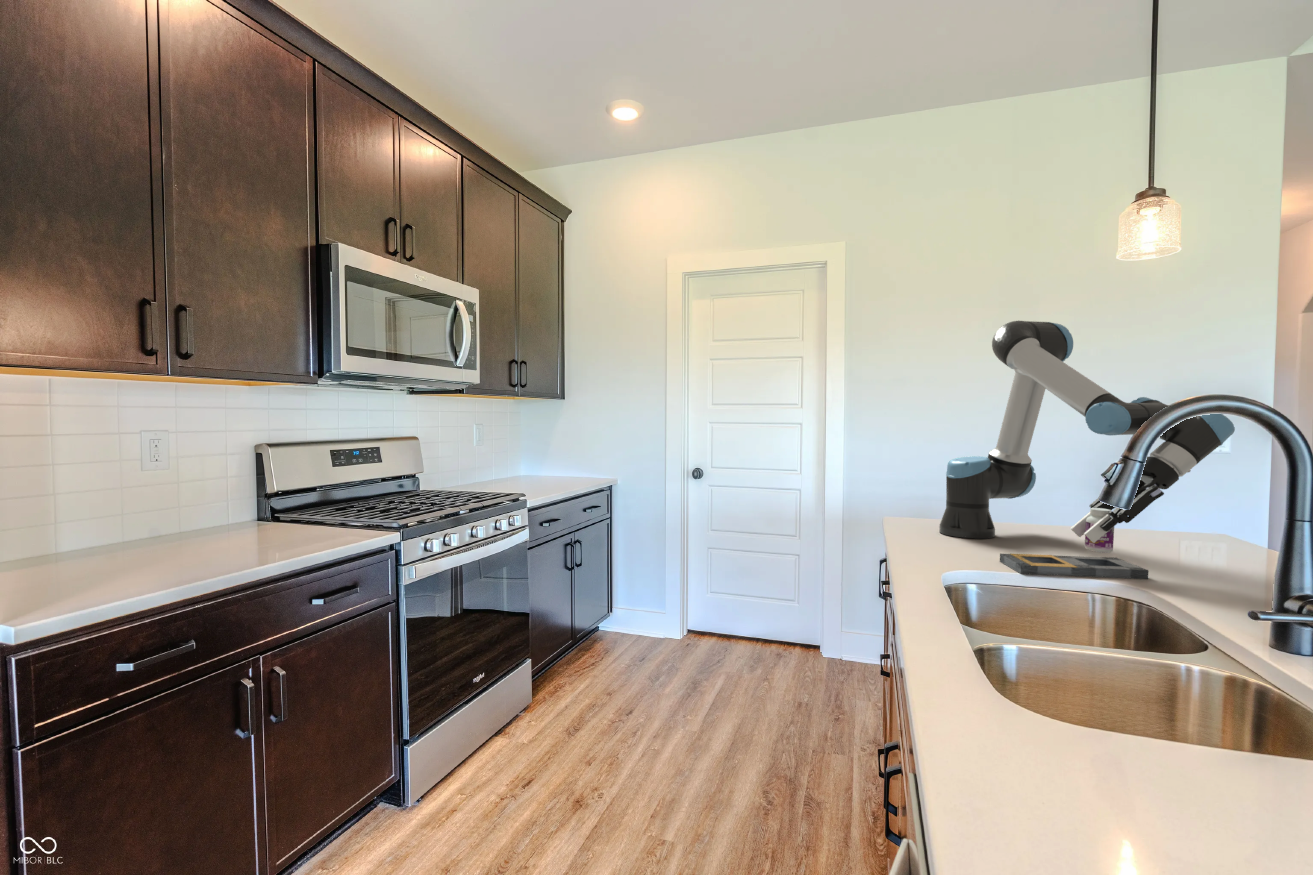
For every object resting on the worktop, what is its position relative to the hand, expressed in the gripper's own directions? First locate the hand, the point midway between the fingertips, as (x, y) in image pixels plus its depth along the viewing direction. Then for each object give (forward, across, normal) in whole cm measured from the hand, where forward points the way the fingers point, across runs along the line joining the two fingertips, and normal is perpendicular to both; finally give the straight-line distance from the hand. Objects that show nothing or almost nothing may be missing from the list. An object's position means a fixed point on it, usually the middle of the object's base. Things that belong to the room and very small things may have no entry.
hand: (1082, 535), depth 141 cm
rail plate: (+7, 0, -4) cm, 9 cm away
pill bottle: (0, 0, -5) cm, 5 cm away
